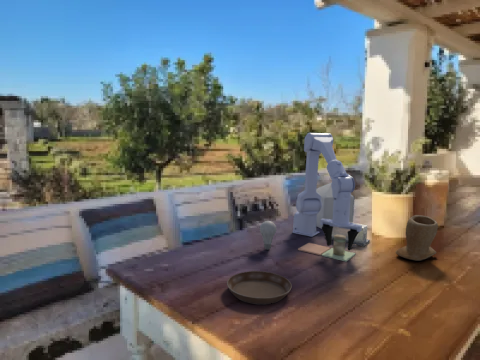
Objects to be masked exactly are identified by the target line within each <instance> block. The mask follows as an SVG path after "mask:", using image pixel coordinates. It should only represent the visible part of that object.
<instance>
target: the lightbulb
mask: <svg viewBox="0 0 480 360" xmlns="http://www.w3.org/2000/svg"><path fill="white" fill-rule="evenodd" d="M259 232H260V234H261V237H262V239H263V247H264V249H265V250H266V251H269V250H270V249H272V243H273V239H274V236H275V235H276V233H277V225H276V224H275V223H274V222H273V221H271V220H264V221H263V222H262V223H261V224H260V226H259Z"/></svg>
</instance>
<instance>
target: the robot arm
mask: <svg viewBox="0 0 480 360" xmlns="http://www.w3.org/2000/svg"><path fill="white" fill-rule="evenodd" d="M303 143H304V145H303V151H304V152H305V153H306V163H305V174H304V175H305V177H304V188H303V189H304V190H302V191H301V192H299V193H298V194H297V198H296V201H295V209H296V212H295V213H294V216H293V221H292V222H293V223H292V225H293V227H292V231H291V232H292V234H297V235H302V236H306V237H314V236H316V235H319V234H320V231H318V230H317V226H316V223H317V214H318V213H319V212H320V210H321V208H322V202H321V196H320V194H318V193H317V192H316V189H317V188H318V187H317V186H318V176H319V174H318V173H319V172H318V170H319V159H320V158H319V157H320V155H322V157H323V158H324V160H325V162H326V163H327V165H326V170H327V173H328V174H329V177H330V179H331V180H330V181H331V182H330V183H331V188H332V195H333V197H334V202H333V220H331V219H321V220H320V225H323V227H322V229H321V230H322V232H323V235H324V238H325V237H326V239H325V241H326V247H330V246H331V245H332V241H333V240H332V230H333V227H339V228H344V229H350V231H348V243H347V251H351V250H352V249H353V245H354V244H353V242H354V240H355V238H356V236H357V234H358V233H359V232H360V231H362V225H363V224H362V225H358V224H359V223H356V224H354V223H355V222H353V223H350V222H349V215H350V200H351V195H352V193H353V192H354V191H355V188H356V182H355V179H354V177H353V176H351V175H350V174H349V173H347V171H346V169H345V167H344V165H343V163H342V161H341V160H338V159H337V157H336V153H335V151H334V147H333V144H334V137H333V135H332V133H330V132H325V133H324V132H322V133H321V132H307V134H306V135H305V136H304V142H303Z"/></svg>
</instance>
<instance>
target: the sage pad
mask: <svg viewBox="0 0 480 360" xmlns="http://www.w3.org/2000/svg"><path fill="white" fill-rule="evenodd" d="M330 248H331V249H330V250H328V251H326V252H325V253H323V254H322V255H321V257H326V258H330V259H333V260H339V261H343V262H348V261H349V260H350V259H352V258H353V257H354V256H356V252H350V251H349V250H345V255H343V256H337V255H334V254H333V247H330Z"/></svg>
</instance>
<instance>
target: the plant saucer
mask: <svg viewBox="0 0 480 360" xmlns="http://www.w3.org/2000/svg"><path fill="white" fill-rule="evenodd" d="M226 284H227V288H228V289H229V290H228V291H230V293H231V294H232V295H233V296H234V297H235V298H237V299H238V300H239V301H242V302H244V303H248V304H253V305H271V303H272V304H275V303H277V302H279V301H281V300H283V299H284V298H285V297H287V295H288V294H289V293H290V291H291V289H292V286H293V285H292V283H291V281H290V280H289V279H288V278H286V277H284V276H282V275H280V274H277V273H275V272H269V271H261V270H250V271H243V272H239V273H236V274H234V275H232V276H230V277H229V278H228V280H227V282H226Z"/></svg>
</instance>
